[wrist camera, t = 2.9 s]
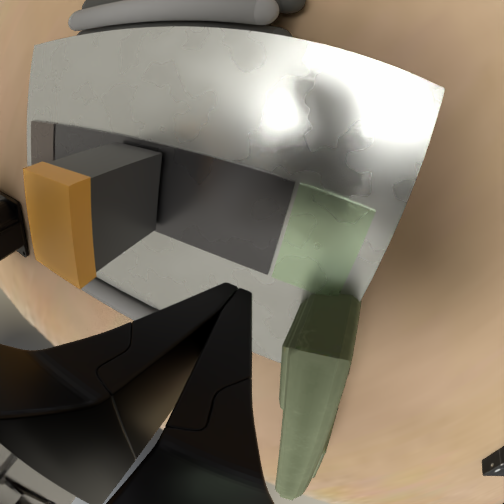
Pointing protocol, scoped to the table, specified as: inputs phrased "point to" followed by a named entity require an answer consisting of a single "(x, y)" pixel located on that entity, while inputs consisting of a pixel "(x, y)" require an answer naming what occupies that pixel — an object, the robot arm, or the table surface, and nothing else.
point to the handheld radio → (313, 385)
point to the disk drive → (494, 464)
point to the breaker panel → (242, 158)
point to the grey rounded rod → (118, 299)
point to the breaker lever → (91, 207)
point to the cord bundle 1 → (182, 14)
